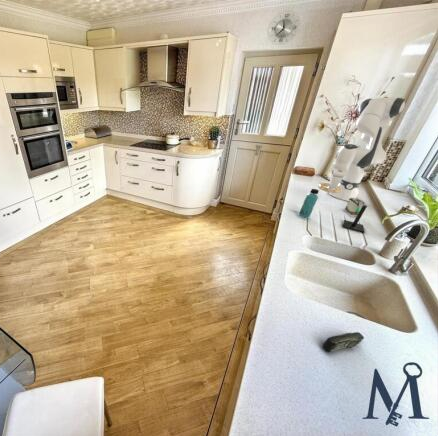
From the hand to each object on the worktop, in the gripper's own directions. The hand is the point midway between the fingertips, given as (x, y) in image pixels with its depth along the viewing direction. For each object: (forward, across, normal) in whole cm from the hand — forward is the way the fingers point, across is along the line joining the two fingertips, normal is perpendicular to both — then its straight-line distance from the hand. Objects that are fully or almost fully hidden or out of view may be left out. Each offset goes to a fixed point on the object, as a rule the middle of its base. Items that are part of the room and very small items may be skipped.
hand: (329, 189), depth 159 cm
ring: (0, -6, 0) cm, 6 cm away
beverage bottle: (+15, +22, -9) cm, 28 cm away
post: (+15, +16, +18) cm, 28 cm away
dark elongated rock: (+14, +117, +10) cm, 118 cm away
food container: (+15, -6, +19) cm, 25 cm away
